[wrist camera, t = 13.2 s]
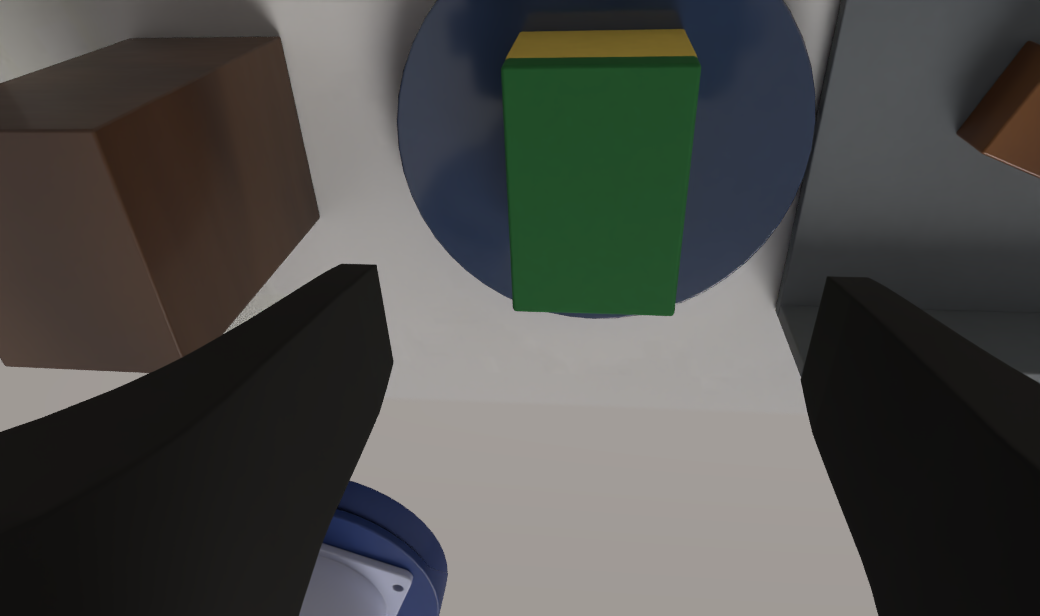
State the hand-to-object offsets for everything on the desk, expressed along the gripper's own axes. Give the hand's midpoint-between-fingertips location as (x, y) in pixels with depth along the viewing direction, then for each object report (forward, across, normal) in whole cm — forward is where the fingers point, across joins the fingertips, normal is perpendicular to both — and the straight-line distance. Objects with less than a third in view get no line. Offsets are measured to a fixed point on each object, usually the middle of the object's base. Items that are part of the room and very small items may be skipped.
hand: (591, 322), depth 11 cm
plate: (+9, 0, 0) cm, 9 cm away
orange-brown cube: (+9, -11, -1) cm, 14 cm away
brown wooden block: (+9, +11, 0) cm, 14 cm away
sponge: (+8, 0, 0) cm, 8 cm away
